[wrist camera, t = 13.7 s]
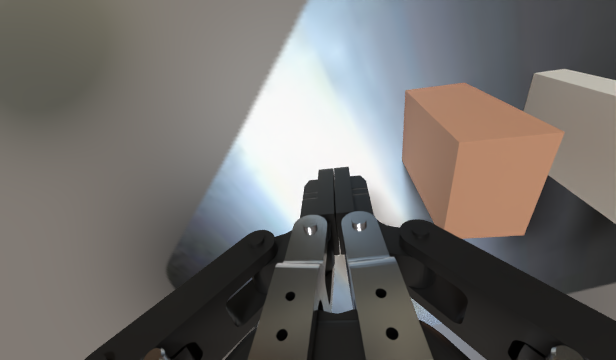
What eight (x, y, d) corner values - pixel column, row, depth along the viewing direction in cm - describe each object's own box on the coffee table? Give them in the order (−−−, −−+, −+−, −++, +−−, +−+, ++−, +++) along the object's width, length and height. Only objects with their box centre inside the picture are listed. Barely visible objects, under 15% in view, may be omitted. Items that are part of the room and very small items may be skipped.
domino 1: (464, 82, 16) (564, 131, 9) (452, 155, 18) (523, 235, 12) (405, 90, 16) (459, 142, 10) (402, 160, 19) (442, 239, 12)
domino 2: (564, 69, 15) (861, 135, 7) (538, 146, 18) (728, 265, 9) (534, 73, 15) (785, 143, 7) (512, 149, 18) (675, 267, 10)
